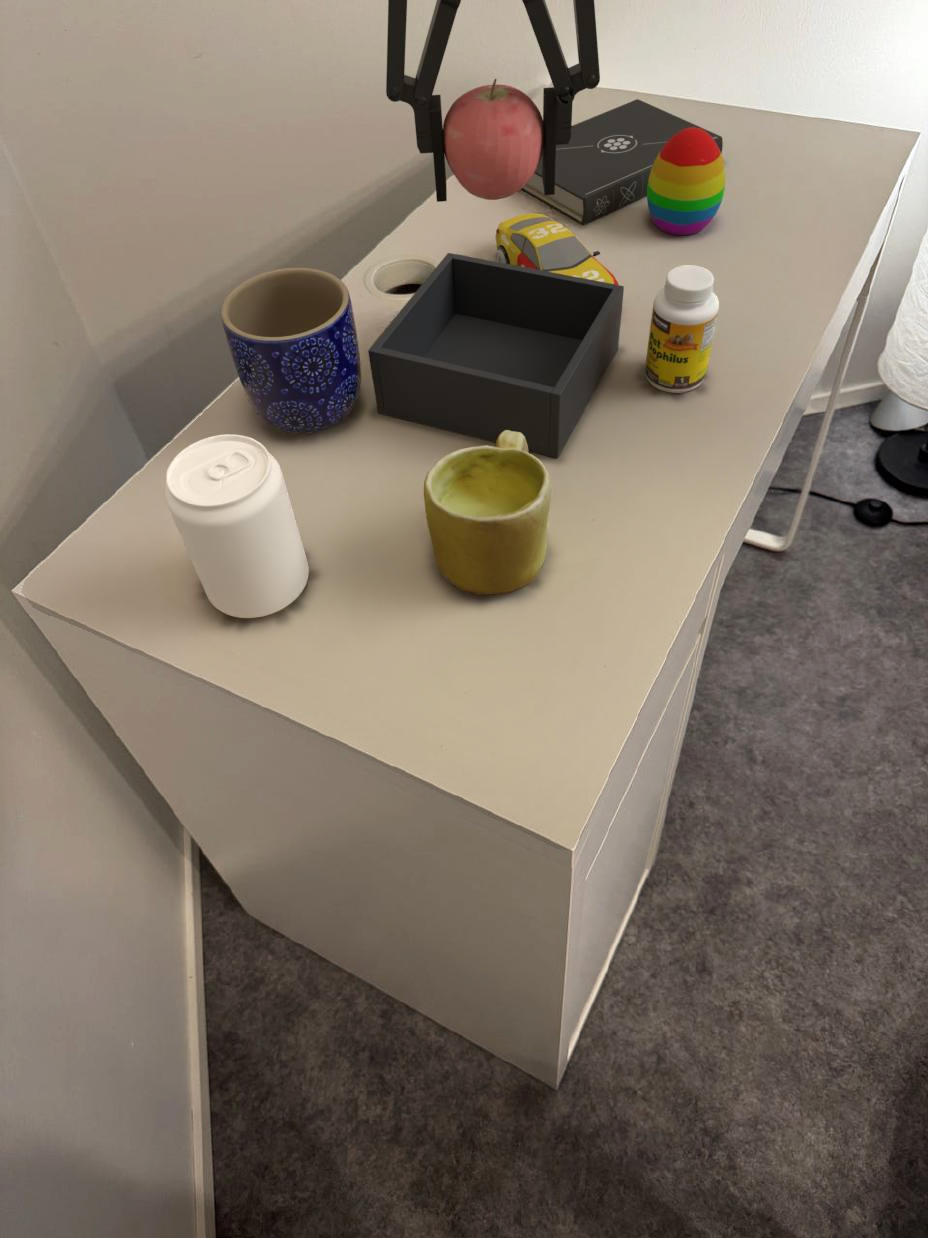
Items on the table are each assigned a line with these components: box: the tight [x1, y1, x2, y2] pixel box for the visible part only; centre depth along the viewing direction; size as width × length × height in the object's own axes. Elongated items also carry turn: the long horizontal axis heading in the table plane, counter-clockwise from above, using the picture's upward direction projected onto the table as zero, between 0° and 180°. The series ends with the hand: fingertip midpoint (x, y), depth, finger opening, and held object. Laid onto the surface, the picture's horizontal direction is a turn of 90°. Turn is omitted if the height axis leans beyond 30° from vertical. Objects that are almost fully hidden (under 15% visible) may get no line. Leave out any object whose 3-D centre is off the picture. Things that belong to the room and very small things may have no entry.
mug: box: [423, 430, 552, 596], centre depth 69 cm, size 12×10×10 cm
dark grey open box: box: [367, 252, 625, 459], centre depth 82 cm, size 18×17×7 cm
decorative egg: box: [646, 127, 726, 236], centre depth 96 cm, size 8×8×10 cm
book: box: [521, 98, 724, 225], centre depth 107 cm, size 22×15×3 cm
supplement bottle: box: [644, 264, 720, 394], centre depth 80 cm, size 6×6×10 cm
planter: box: [220, 267, 363, 434], centre depth 79 cm, size 11×11×11 cm
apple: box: [442, 78, 545, 201], centre depth 66 cm, size 7×7×8 cm
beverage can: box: [164, 433, 310, 619], centre depth 66 cm, size 8×8×12 cm
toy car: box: [495, 212, 619, 285], centre depth 92 cm, size 8×17×5 cm, turn 26°
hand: (494, 188), depth 69 cm, fingers closed on apple, 7 cm apart
